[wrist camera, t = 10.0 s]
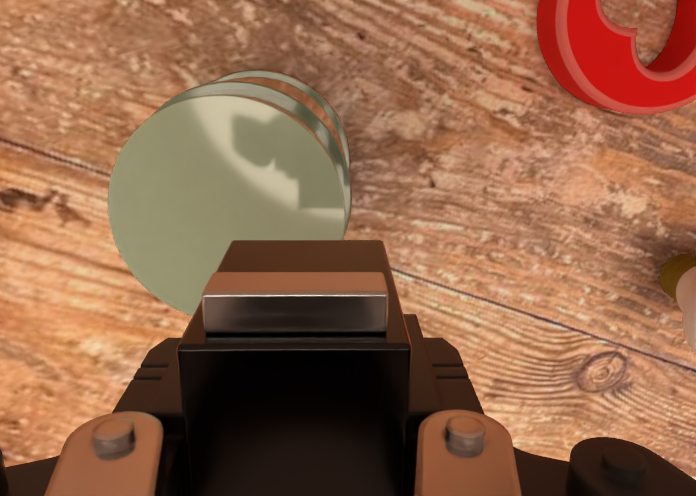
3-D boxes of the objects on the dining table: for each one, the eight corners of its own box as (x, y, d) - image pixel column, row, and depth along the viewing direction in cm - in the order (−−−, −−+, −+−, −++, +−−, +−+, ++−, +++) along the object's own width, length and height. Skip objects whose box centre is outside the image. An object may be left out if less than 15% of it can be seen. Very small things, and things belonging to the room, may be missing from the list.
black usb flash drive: (229, 209, 12) (169, 302, 7) (385, 209, 12) (415, 301, 7) (242, 453, 13) (200, 643, 9) (377, 452, 13) (399, 640, 9)
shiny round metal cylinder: (166, 67, 31) (80, 79, 21) (352, 71, 31) (360, 85, 21) (179, 243, 34) (110, 331, 24) (348, 246, 34) (353, 334, 24)
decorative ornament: (764, -42, 30) (812, -51, 27) (658, 136, 33) (691, 146, 30) (600, -132, 29) (631, -152, 26) (503, 63, 31) (521, 65, 28)
